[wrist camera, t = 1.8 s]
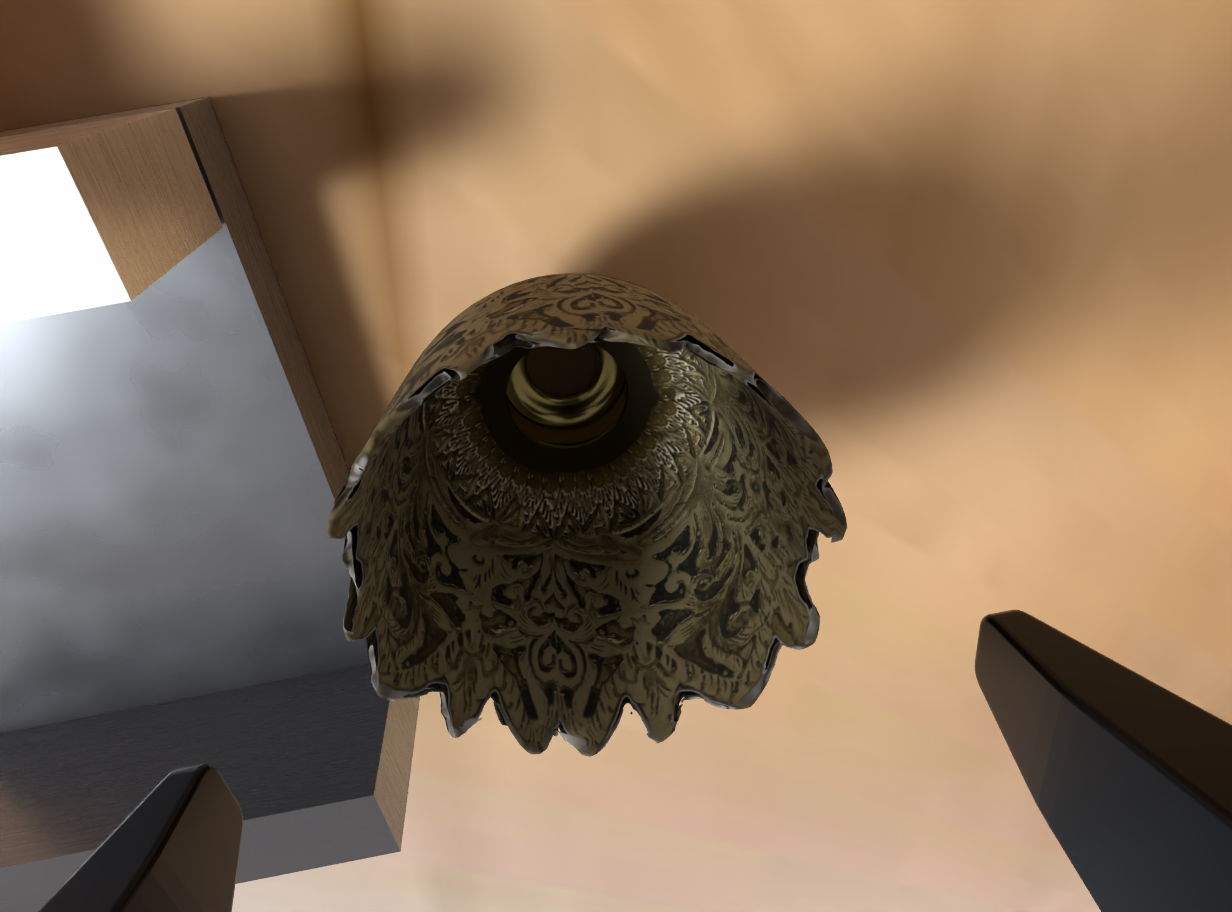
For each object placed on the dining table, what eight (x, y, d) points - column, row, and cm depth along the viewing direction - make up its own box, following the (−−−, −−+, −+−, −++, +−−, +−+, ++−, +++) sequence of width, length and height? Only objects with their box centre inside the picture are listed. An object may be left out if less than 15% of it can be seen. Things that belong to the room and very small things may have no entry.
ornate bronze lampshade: (396, 176, 16) (307, 315, 9) (750, 215, 17) (916, 364, 10) (398, 492, 19) (337, 765, 12) (689, 505, 20) (780, 760, 14)
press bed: (208, 97, 15) (64, 144, 10) (423, 670, 22) (400, 851, 18) (-399, 198, 14) (-851, 296, 9) (32, 744, 22) (-99, 949, 17)
